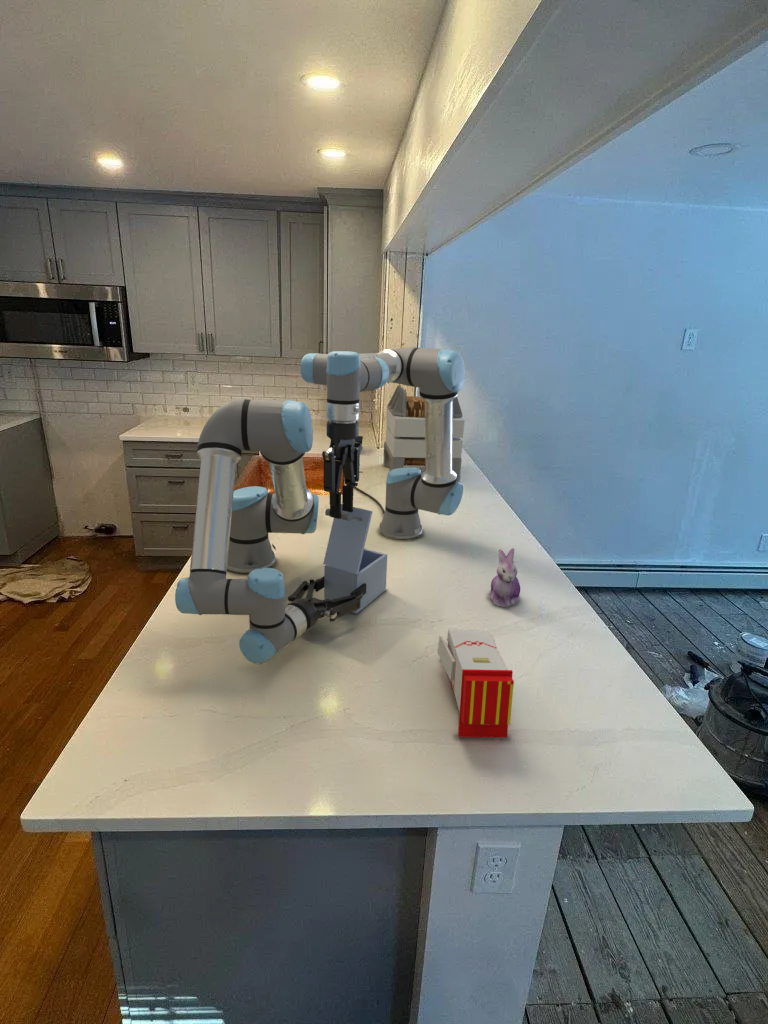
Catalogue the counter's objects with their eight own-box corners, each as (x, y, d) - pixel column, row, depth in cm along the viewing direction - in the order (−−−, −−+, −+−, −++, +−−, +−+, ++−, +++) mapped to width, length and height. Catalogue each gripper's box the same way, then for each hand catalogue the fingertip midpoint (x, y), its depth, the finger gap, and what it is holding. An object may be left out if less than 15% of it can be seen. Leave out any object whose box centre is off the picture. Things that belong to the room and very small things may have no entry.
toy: (488, 613, 130) (523, 677, 101) (484, 667, 133) (517, 744, 104) (435, 612, 130) (455, 676, 101) (432, 666, 133) (451, 743, 103)
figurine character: (362, 457, 305) (363, 447, 318) (362, 443, 301) (363, 434, 315) (350, 456, 304) (351, 447, 318) (350, 443, 301) (351, 434, 314)
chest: (355, 580, 164) (356, 545, 160) (385, 589, 160) (387, 554, 156) (324, 603, 151) (324, 566, 147) (356, 613, 147) (357, 575, 143)
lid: (339, 503, 148) (321, 499, 140) (372, 511, 143) (356, 507, 136) (325, 564, 148) (307, 563, 140) (358, 573, 143) (341, 573, 136)
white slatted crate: (382, 463, 289) (386, 382, 275) (445, 464, 293) (451, 384, 279) (390, 482, 257) (394, 392, 243) (460, 483, 261) (468, 394, 247)
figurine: (502, 611, 151) (509, 560, 146) (479, 594, 159) (485, 545, 154) (530, 604, 155) (537, 554, 150) (506, 588, 163) (512, 540, 158)
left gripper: (258, 619, 138) (312, 584, 156) (336, 648, 128) (384, 607, 146) (257, 591, 135) (312, 559, 154) (336, 618, 125) (385, 581, 143)
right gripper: (334, 428, 123) (333, 528, 131) (375, 416, 137) (372, 507, 146) (306, 424, 126) (307, 521, 134) (349, 413, 141) (348, 501, 149)
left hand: (347, 582), depth 150 cm, fingers closed on chest, 10 cm apart
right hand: (341, 514), depth 140 cm, fingers open, 5 cm apart
